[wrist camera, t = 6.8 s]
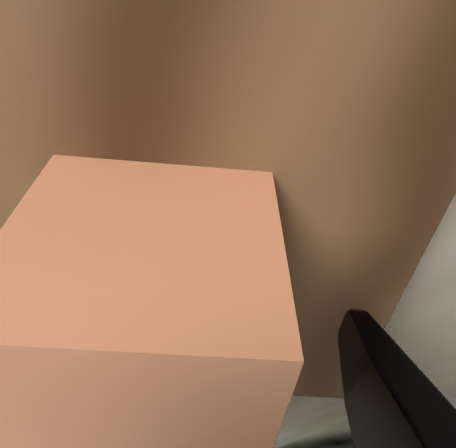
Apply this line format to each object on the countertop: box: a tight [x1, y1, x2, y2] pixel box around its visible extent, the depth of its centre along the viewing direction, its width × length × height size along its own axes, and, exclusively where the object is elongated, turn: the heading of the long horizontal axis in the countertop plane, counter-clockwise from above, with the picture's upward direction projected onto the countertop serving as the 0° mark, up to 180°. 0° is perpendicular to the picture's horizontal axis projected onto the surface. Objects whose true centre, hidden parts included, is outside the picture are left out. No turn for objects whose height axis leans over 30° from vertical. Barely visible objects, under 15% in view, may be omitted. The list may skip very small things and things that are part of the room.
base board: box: [0, 0, 456, 398], centre depth 12 cm, size 14×14×2 cm
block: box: [0, 155, 304, 448], centre depth 9 cm, size 5×5×5 cm
